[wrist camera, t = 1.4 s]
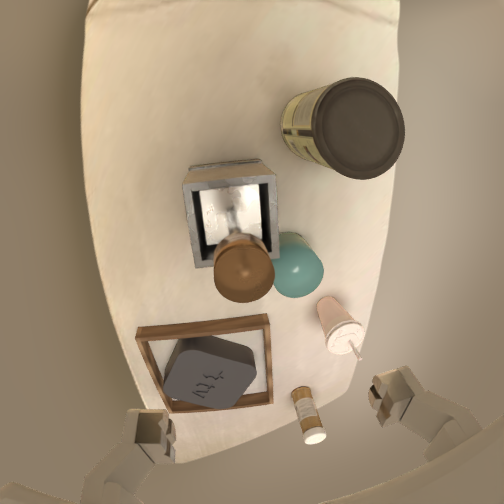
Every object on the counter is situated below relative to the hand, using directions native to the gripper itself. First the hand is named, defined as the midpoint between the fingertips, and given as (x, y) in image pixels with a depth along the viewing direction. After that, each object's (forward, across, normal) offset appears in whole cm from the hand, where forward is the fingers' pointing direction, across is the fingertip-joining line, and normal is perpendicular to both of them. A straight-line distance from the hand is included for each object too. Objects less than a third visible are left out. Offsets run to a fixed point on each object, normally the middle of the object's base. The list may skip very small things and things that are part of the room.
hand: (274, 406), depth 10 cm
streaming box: (+34, +8, +31) cm, 47 cm away
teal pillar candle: (+33, -8, +10) cm, 36 cm away
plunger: (+25, 0, 0) cm, 25 cm away
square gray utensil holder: (+33, 0, 0) cm, 33 cm away
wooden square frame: (+33, +7, +32) cm, 47 cm away
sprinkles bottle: (+34, -11, +45) cm, 57 cm away
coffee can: (+33, -13, -9) cm, 37 cm away
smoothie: (+34, -15, +21) cm, 42 cm away
